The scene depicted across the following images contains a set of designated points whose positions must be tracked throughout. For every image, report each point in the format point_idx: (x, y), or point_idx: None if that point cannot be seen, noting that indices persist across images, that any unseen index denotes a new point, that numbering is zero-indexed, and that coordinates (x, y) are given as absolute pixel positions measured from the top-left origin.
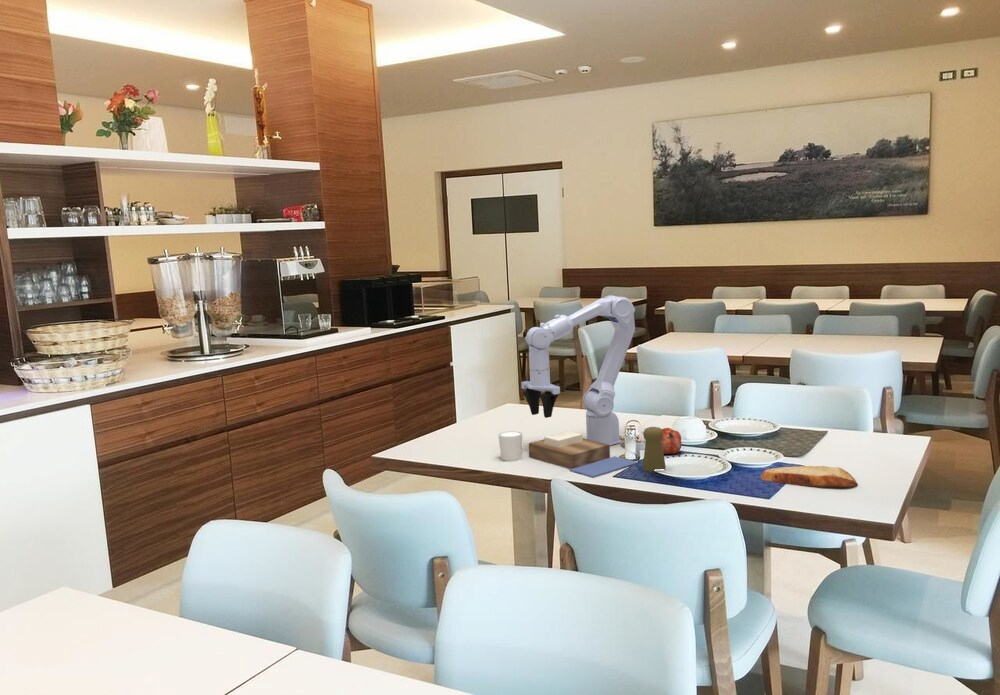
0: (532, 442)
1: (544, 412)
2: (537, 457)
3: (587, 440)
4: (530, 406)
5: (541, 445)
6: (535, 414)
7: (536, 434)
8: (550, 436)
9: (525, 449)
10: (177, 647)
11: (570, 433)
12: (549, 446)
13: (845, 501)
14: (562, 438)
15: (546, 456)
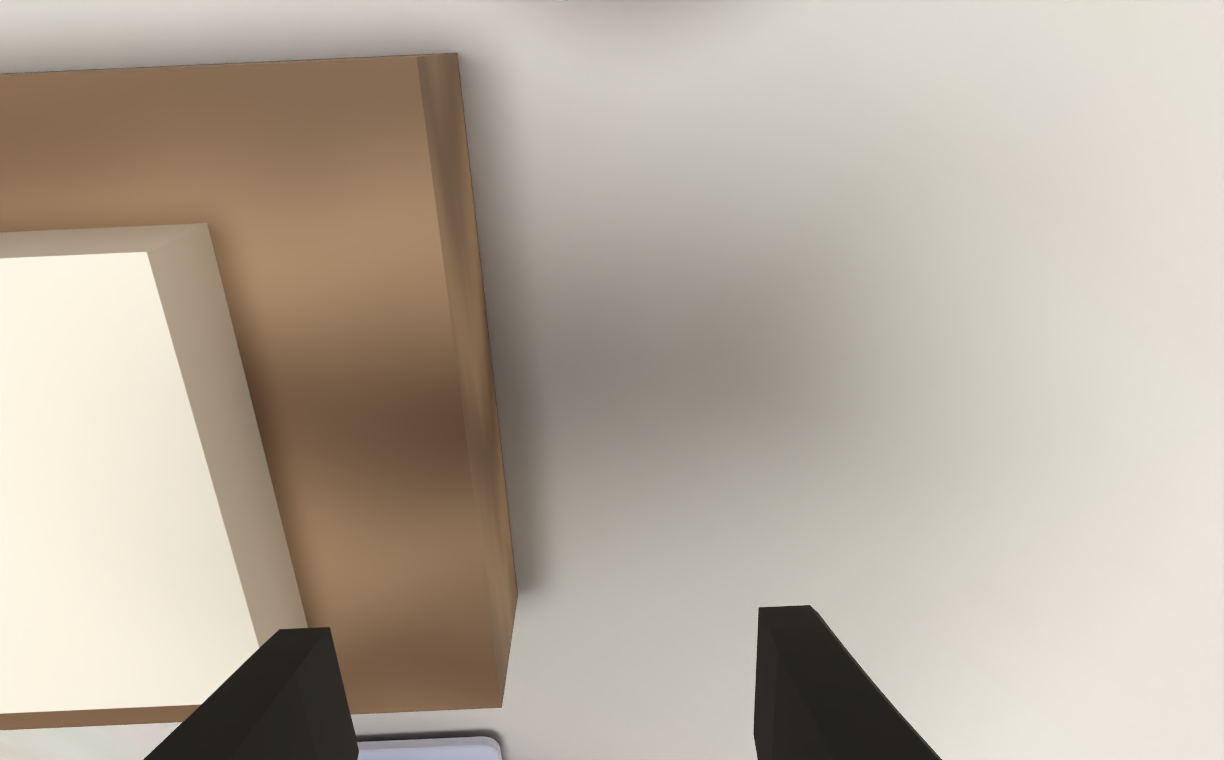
0: (414, 141)
1: (230, 714)
2: (271, 61)
3: None
4: (869, 757)
5: (146, 124)
6: (757, 665)
7: (1125, 684)
8: (121, 351)
9: (785, 254)
10: None
11: (115, 649)
12: (16, 180)
13: None
14: None
15: (50, 72)
